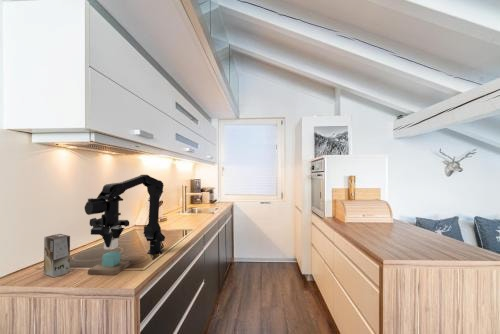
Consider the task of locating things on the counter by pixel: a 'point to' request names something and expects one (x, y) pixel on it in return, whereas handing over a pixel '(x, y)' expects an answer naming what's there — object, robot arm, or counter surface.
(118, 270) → the walnut base
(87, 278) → the counter surface
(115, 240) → the cream block
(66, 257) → the coffee box
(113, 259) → the teal block
